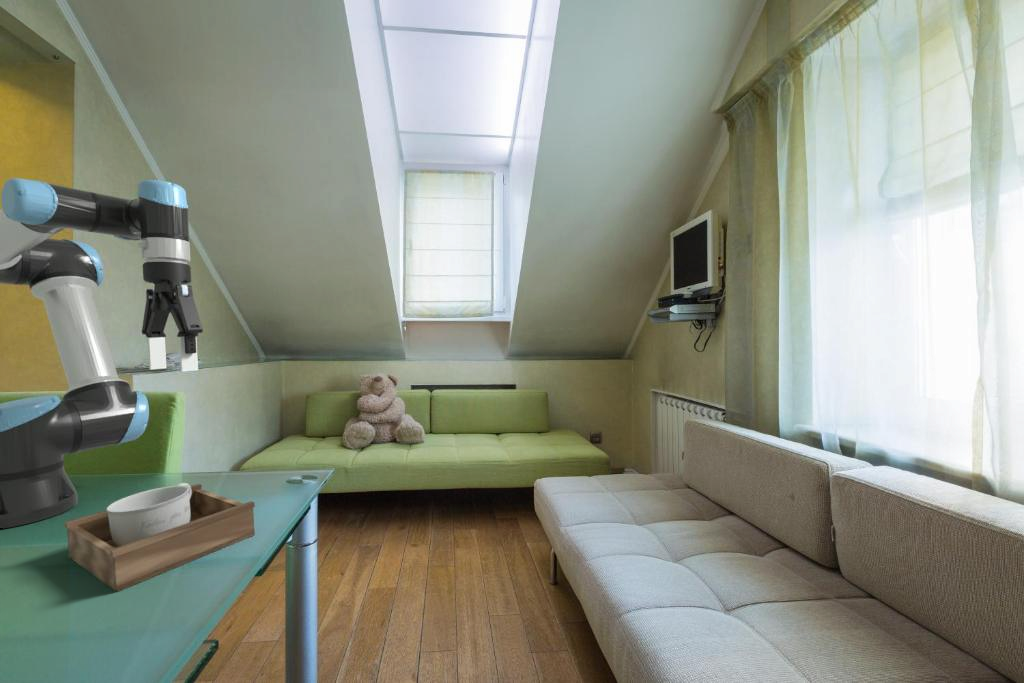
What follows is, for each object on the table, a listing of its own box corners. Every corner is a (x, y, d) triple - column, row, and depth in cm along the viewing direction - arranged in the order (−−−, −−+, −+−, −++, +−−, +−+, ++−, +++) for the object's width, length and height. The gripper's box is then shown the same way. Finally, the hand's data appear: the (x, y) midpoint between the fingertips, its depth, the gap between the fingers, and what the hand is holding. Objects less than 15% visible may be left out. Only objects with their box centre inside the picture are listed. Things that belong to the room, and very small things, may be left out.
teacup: (146, 562, 68) (143, 511, 68) (90, 556, 70) (87, 507, 70) (222, 522, 82) (219, 479, 82) (173, 518, 84) (171, 477, 84)
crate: (67, 557, 72) (64, 522, 72) (200, 512, 89) (198, 483, 89) (115, 592, 62) (112, 552, 61) (256, 534, 78) (254, 502, 78)
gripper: (117, 266, 91) (124, 370, 91) (173, 253, 78) (180, 374, 79) (161, 270, 97) (167, 366, 98) (219, 258, 84) (225, 369, 85)
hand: (173, 370), depth 88 cm, fingers open, 13 cm apart
